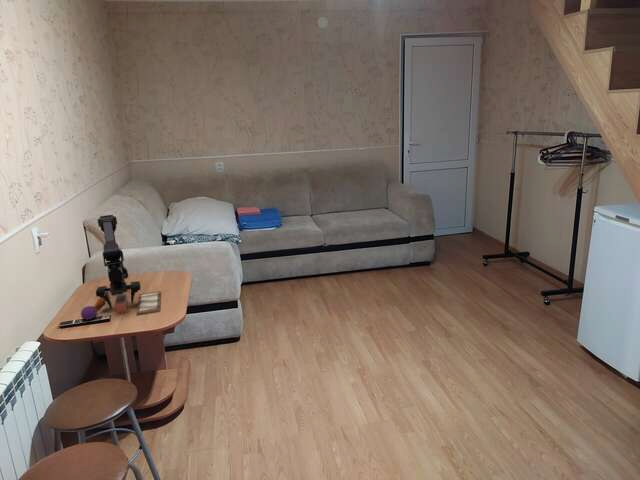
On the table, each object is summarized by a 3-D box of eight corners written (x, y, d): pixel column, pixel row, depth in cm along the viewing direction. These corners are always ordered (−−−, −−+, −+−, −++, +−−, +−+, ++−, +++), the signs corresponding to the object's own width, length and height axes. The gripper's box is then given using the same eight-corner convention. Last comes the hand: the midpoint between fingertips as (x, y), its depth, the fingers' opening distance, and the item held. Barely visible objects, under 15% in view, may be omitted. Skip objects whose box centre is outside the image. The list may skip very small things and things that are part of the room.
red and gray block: (118, 304, 222) (117, 295, 221) (127, 302, 223) (126, 294, 222) (116, 313, 212) (114, 304, 210) (125, 311, 213) (124, 302, 212)
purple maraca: (108, 295, 223) (93, 309, 204) (108, 307, 224) (92, 322, 205) (95, 294, 222) (79, 308, 203) (95, 306, 224) (78, 321, 204)
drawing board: (139, 296, 230) (139, 293, 230) (160, 292, 233) (160, 290, 233) (136, 315, 208) (136, 313, 208) (160, 311, 211) (159, 309, 211)
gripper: (91, 283, 203) (97, 316, 207) (136, 276, 208) (142, 309, 212) (94, 275, 213) (101, 306, 217) (138, 269, 218) (143, 300, 222)
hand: (121, 305), depth 217 cm, fingers open, 9 cm apart
